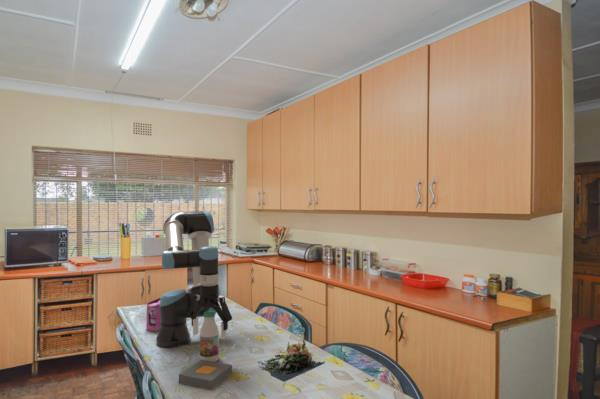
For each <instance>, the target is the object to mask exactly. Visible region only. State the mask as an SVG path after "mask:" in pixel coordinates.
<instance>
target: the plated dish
mask: <svg viewBox="0 0 600 399" xmlns="http://www.w3.org/2000/svg"><path fill="white" fill-rule="evenodd" d="M306 345H307V344H306V337H305V336H303V340H302V343H301V342H297V343H293V344H290V341H288V342H287V348H286V350H285V354H276V355H274V357H275V358H274V357H271V358H268V359H267V360H264V362H263V360H259V361H257V362H256V363H257V365H258V368H259V369H260V370H262V371H266V372H267V373H269V374H270V376H271V377H273V378H275V379H277V380H279V381H281V382H284V383H285V382H287V381H290V380H292V379H294V378H296V377H298V376H301V375H302V374H305V373H307V372H309V371H311V370H315V368H318V367H320V366H322V365H325V361H322V362H321V361H318V360H317V359H316V358H315V359H313V360H312V355H311V354H310V352H309V349H308V346H306ZM281 359H282V360H281ZM316 360H317V361H316ZM264 366H265V367H264Z"/></svg>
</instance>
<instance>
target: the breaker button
mask: <svg viewBox="0 0 600 399" xmlns="http://www.w3.org/2000/svg"><path fill="white" fill-rule="evenodd" d="M216 369H217V367H211V366H205V365H204V366H202V367H201V368H199V369H198V370H196V371H195V372H197V373H203V374H208V375H209V374H210V373H211V372H213V371H214V370H216Z"/></svg>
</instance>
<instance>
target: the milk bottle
mask: <svg viewBox="0 0 600 399" xmlns="http://www.w3.org/2000/svg"><path fill="white" fill-rule="evenodd" d="M215 317H216V314H215V312H214V311H205V312H204V317H203V319H204V320H203V322H202V325H201V328H200V331H199V361H200V360H206V361H212V362H218V361H219V359H220V331H219V327H218V325H217V323H216V319H215Z"/></svg>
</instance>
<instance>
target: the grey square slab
mask: <svg viewBox="0 0 600 399" xmlns="http://www.w3.org/2000/svg"><path fill="white" fill-rule="evenodd" d="M204 365H205V366H211V367H217V369H216V370H214V371H213V372H211V373H210V374H209V375H208V374H203V373H197V372H195V371H196V370H198V369H199V368H201V367H202V366H204ZM231 374H233V364H229V363H223V362H218V361H217V362H212V361H206V360H200V359H199V361H197V362H196V363H194V364H193V365H191V366H190V367H188V368H186V369H185V370H183V371H182V372H180V373H178V383H179V384H183V383H184V385H188V384H189V386H193V385H194V387H198V386H199V388H203V387H204V388H203V389H208V390H212V389H213V388H215V387H216V386H218V385H219V384H221V382H222V381H224V380H225V379H226V378H228V377H229V376H230V375H231Z"/></svg>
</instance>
